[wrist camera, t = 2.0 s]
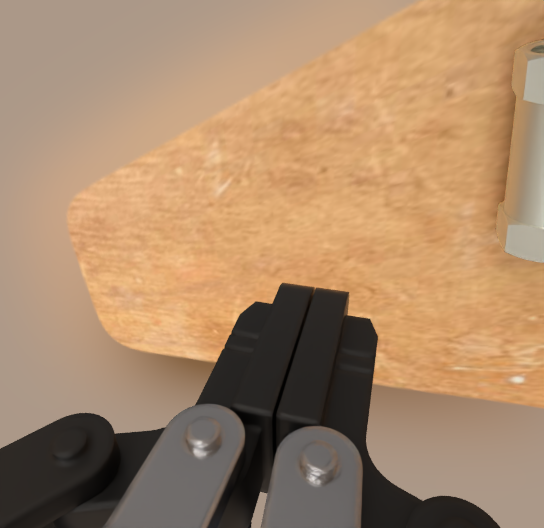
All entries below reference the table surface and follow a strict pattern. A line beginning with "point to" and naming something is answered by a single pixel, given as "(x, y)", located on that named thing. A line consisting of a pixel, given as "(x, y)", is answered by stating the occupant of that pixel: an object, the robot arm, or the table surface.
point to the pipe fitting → (525, 160)
